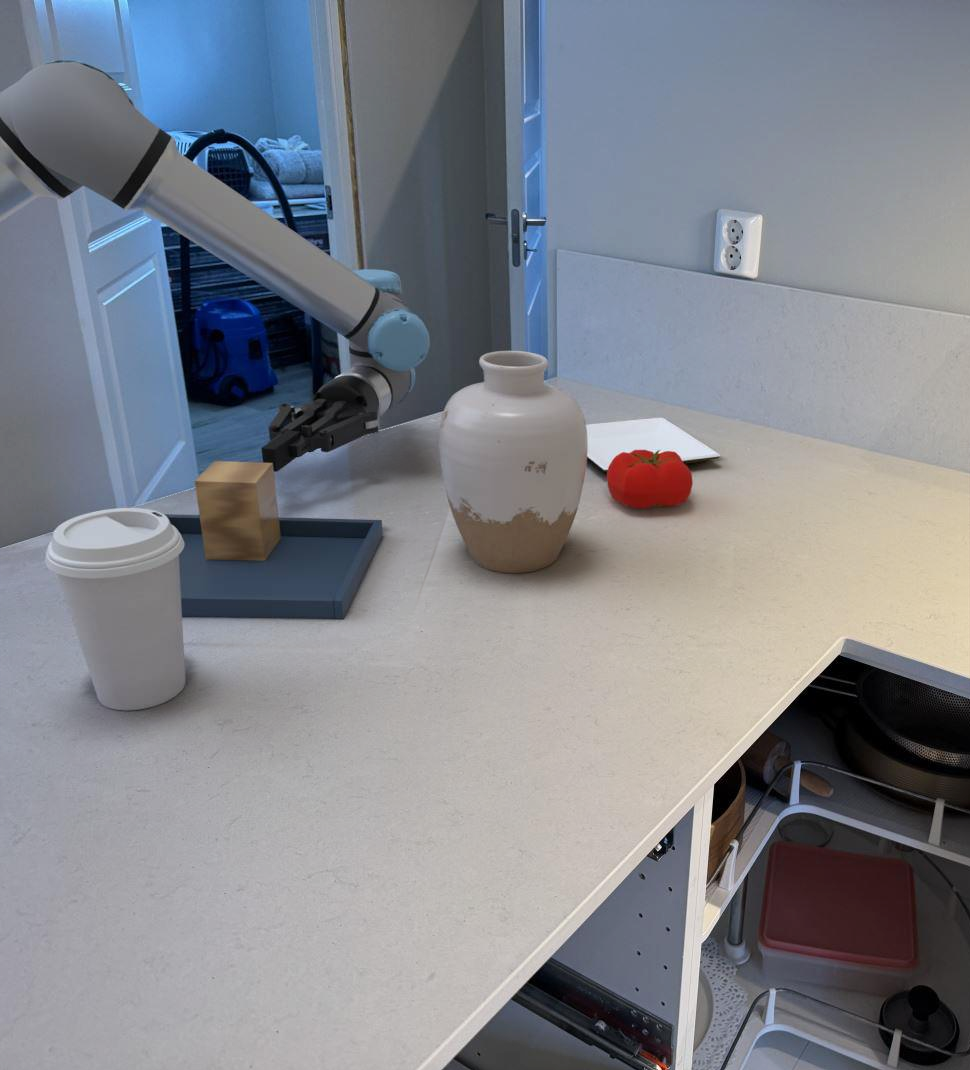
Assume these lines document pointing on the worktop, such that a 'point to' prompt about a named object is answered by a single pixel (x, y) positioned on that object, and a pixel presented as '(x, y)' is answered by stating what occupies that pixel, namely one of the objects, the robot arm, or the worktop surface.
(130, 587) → the coffee cup
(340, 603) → the tray
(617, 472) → the tomato
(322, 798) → the worktop surface
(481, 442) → the vase
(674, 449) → the plate
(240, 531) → the block
